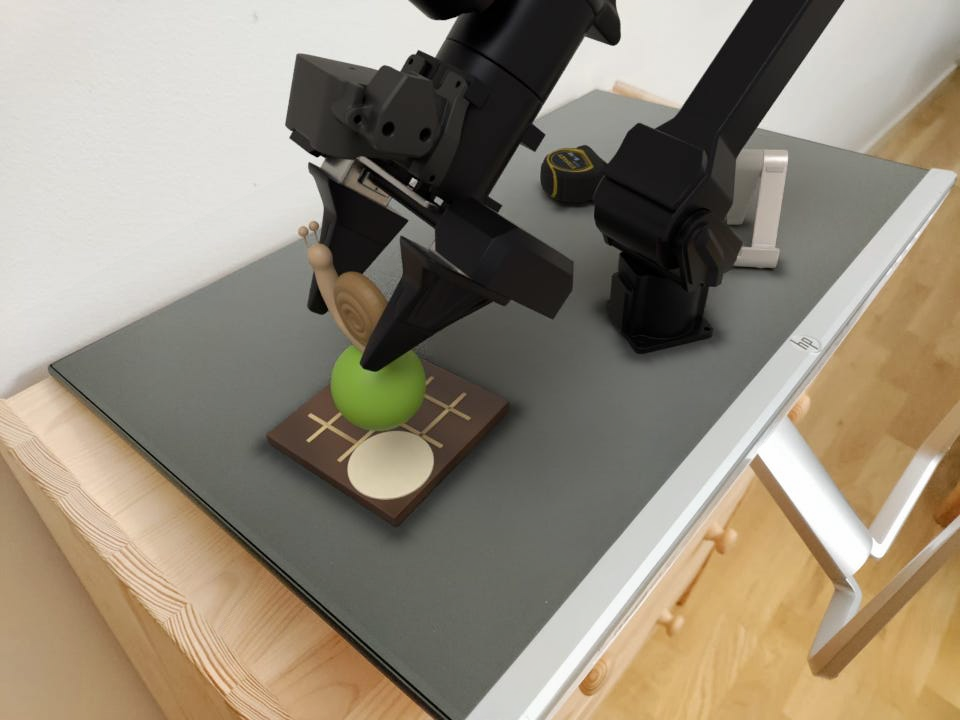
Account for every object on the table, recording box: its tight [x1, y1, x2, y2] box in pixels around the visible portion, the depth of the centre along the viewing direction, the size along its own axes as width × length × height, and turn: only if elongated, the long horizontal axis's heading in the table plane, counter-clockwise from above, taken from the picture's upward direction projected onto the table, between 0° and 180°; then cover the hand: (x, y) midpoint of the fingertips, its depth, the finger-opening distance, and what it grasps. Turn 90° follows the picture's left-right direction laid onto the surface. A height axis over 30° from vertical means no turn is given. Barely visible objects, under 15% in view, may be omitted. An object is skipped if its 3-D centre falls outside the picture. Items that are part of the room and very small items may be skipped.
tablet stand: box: [725, 148, 789, 269], centre depth 61 cm, size 9×8×8 cm
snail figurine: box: [297, 220, 426, 431], centre depth 39 cm, size 5×6×12 cm
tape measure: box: [539, 144, 608, 204], centre depth 71 cm, size 7×7×4 cm
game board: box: [265, 355, 510, 527], centre depth 49 cm, size 12×12×1 cm
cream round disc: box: [348, 431, 434, 500], centre depth 46 cm, size 6×6×1 cm
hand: (339, 338), depth 38 cm, fingers closed on snail figurine, 6 cm apart
